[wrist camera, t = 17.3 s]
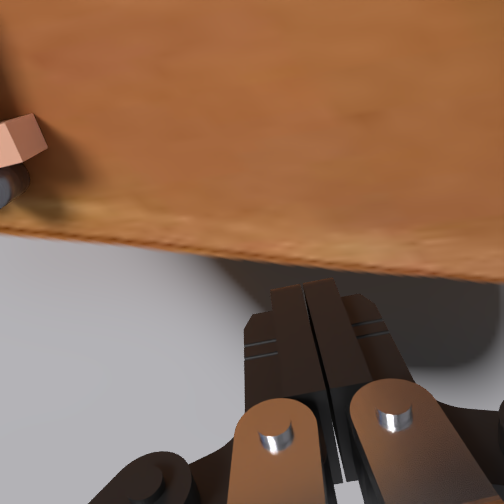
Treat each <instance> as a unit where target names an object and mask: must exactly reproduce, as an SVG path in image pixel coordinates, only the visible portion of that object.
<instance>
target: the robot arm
mask: <svg viewBox="0 0 504 504" xmlns="http://www.w3.org/2000/svg"><path fill="white" fill-rule="evenodd" d="M303 290H304V295H305V301H306V306H307V310H306V307H305V303H304V298H303V294H302V290H301V286H300V284H298V285H293V286H287V287H282V288H277V289H272V290H270V293H271V301H272V309H273V311H268V312H264V313H258V314H253V315H252V316H251V318H250V320H249V321H248V323H247V325H246V327H245V328H244V347H245V348H244V358H245V361H244V371H245V372H244V374H245V414H244V415H243V416H242V417H241V419H240V420H239V422H238V424H237V426H236V429H235V434H234V437H233V438H232V439H231V440H230V441H229V442H228V443H227V444H226V445H225V446H223V447H222V448H220V449H219V450H217V451H215V452H213V453H212V454H209V455H208V456H205V457H203V458H201V459H199V460H197V461H195V462H193V463H191V464H188V463H187V462H186V461H185V460H184V458H182V457H181V456H179V455H177V454H175V453H172V452H163V451H161V452H153V453H150V454H146V455H144V456H142V457H139V458H138V459H136V460H134V461H132V462H131V463H130V464H128V465H127V466H126V467H124V468H123V469H122V470H121V471H120V472H119V473H118V474H117V475H116V476H115V477H114V478H113V479H112V480H111V481H110V482H109V483H108V484H107V485H106V486H105V487H104V488H103V489H102V490H101V491H100V492H99V493H98V494H97V495H96V496H95V497H94V498H93V499H92V500H91V501H90V502H89V503H88V504H337V499H336V495H335V489H334V484H339V483H343V479H342V474H341V468H340V463H339V458H338V452H337V447H336V442H335V436H334V431H335V435H336V439H337V444H338V448H339V452H340V456H341V460H342V464H343V469H344V473H345V477H346V481H347V482H350V481H356V480H358V481H359V484H360V488H361V492H362V495H363V499H364V504H504V400H503V402H502V404H501V405H500V409H499V411H488V410H477V409H466V408H458V407H454V406H450V405H447V404H444V403H441V402H439V401H437V400H435V398H434V397H433V396H432V395H431V394H430V393H429V392H428V391H427V390H426V389H424V388H423V387H421V386H420V385H418V384H416V383H415V381H414V380H413V378H412V376H411V374H410V372H409V370H408V368H407V366H406V364H405V362H404V360H403V358H402V356H401V354H400V352H399V350H398V348H397V346H396V344H395V342H394V341H393V339H392V337H391V335H390V333H389V332H388V329H387V327H386V325H385V323H384V321H383V320H382V317H381V315H380V313H379V311H378V309H377V307H376V305H375V304H374V303H372V302H371V301H370V300H368V299H367V298H365V297H364V296H362V295H361V294H355V295H350V296H345V297H340V294H339V292H338V289H337V287H336V284H335V282H334V279H333V278H327V279H322V280H318V281H313V282H307V283H303ZM307 311H308V315H307ZM308 317H309V319H308ZM309 322H310V323H309ZM332 423H333V425H332ZM333 427H334V430H333Z"/></svg>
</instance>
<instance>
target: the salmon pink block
mask: <svg viewBox="0 0 504 504" xmlns="http://www.w3.org/2000/svg"><path fill="white" fill-rule="evenodd" d="M47 148H48V146H47V144H46V142H45V139H44V137H43V135H42V133H41V130H40V128H39V126H38V123H37V121H36V119H35V117H34V114H33V113H32V114H28V115H24V116H21V117H17V118H13V119H9V120H5V121H2V122H0V168H1V167H5V166H9V165H13V164H17V163H21V162H24V161H26V160H27V159H29V158H31V157H33V156H35V155H36V154H38V153H40V152H42V151H44V150H45V149H47Z"/></svg>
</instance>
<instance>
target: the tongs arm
mask: <svg viewBox="0 0 504 504" xmlns="http://www.w3.org/2000/svg"><path fill="white" fill-rule="evenodd" d="M29 183H30V177H29V173H28V171H27V169H26V168H25V166H24V165H23V164H22V163H17V164H13V165H9V166H5V167H1V168H0V209H1V208H2V207H4V206H5V205H7V204H8V203H9V202H11V201H12V200H14V199H15V198H17V197H18V196H19V195H21V194H22V193H24V192H25V191H26V190H27V188H28V186H29Z"/></svg>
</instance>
